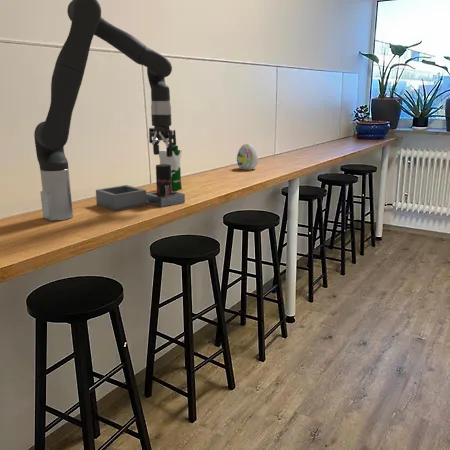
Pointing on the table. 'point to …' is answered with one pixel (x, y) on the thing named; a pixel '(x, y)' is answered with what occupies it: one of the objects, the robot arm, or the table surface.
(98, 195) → the bin
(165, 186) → the deodorant
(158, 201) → the socket collar
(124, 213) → the table surface
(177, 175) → the milk carton
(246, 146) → the decorative egg
